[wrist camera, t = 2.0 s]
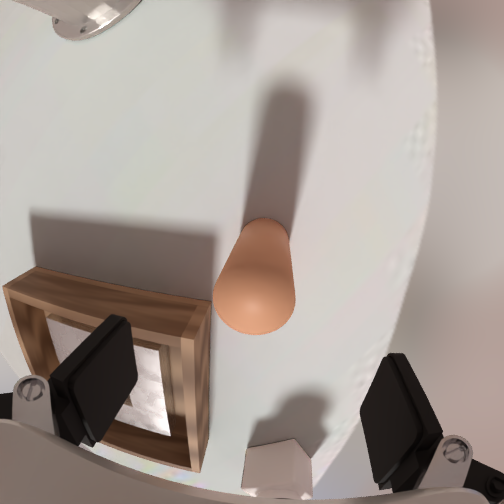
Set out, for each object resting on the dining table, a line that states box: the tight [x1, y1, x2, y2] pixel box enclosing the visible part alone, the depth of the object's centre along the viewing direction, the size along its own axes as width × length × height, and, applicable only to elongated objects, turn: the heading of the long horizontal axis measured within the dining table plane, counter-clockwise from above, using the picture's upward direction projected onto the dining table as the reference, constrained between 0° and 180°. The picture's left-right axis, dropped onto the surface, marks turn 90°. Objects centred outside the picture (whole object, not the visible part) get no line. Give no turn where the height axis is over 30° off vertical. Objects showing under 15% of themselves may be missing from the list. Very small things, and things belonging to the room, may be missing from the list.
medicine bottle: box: [241, 439, 313, 500], centre depth 27 cm, size 7×7×12 cm
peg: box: [213, 218, 295, 335], centre depth 18 cm, size 4×4×10 cm
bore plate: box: [46, 313, 176, 436], centre depth 27 cm, size 14×14×2 cm
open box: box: [2, 267, 211, 473], centre depth 26 cm, size 22×22×6 cm
